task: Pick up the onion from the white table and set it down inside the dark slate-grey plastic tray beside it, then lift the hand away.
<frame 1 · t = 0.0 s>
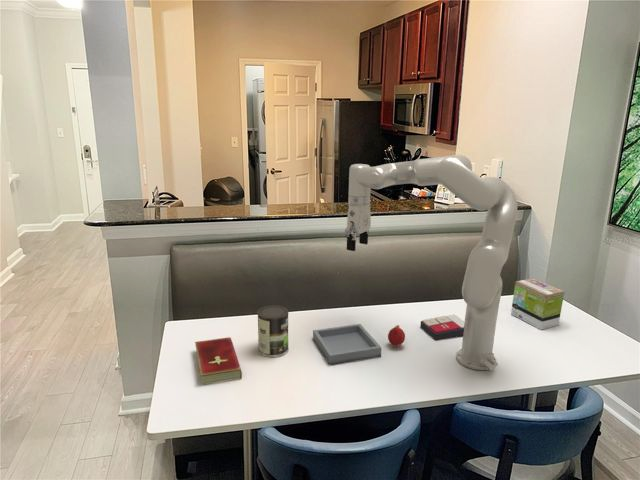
hand: (357, 247, 167), 31 cm above the table, tool pointing down, fingers open, 9 cm apart
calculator: (445, 332, 173), on the table
hardcover book: (217, 366, 149), on the table
tea box: (533, 320, 183), on the table
onion: (395, 346, 161), on the table
coffee can: (273, 350, 158), on the table
tray: (345, 347, 160), on the table
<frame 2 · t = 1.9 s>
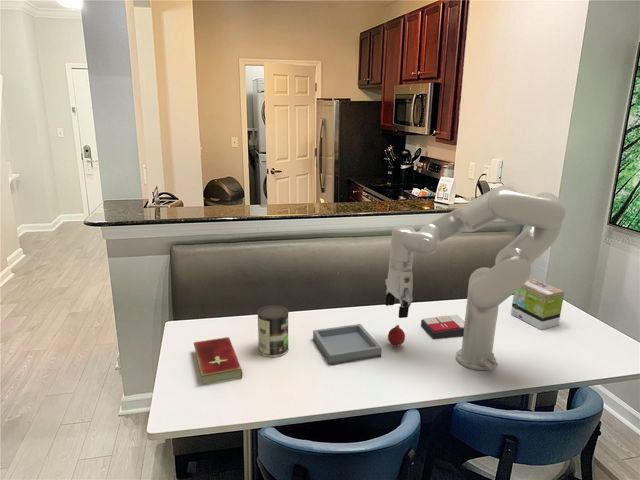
hand: (396, 311, 158), 13 cm above the table, tool pointing down, fingers open, 9 cm apart
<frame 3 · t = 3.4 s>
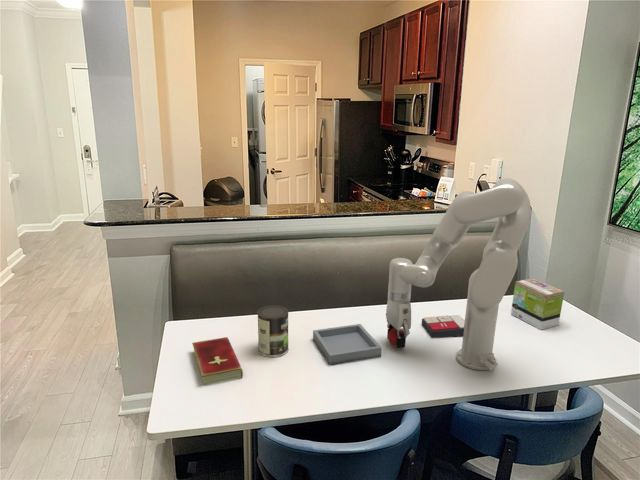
hand: (395, 342, 161), 1 cm above the table, tool pointing down, fingers closed on onion, 5 cm apart
onion: (395, 346, 161), on the table, touching gripper
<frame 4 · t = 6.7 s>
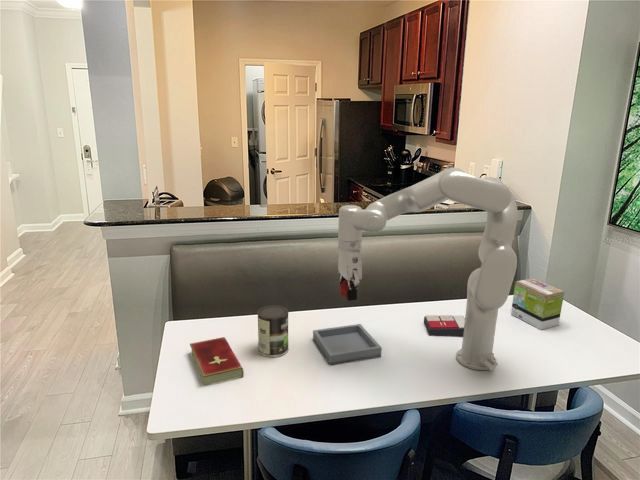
hand: (348, 295, 154), 19 cm above the table, tool pointing down, fingers closed on onion, 5 cm apart
onion: (347, 300, 155), point 18 cm above the table, touching gripper
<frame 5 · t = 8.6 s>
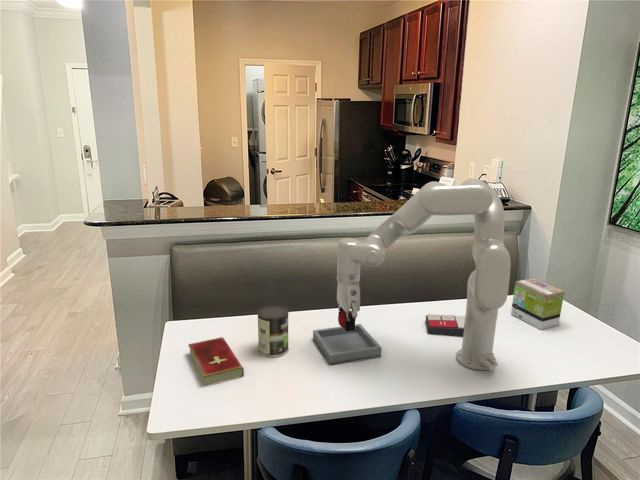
hand: (346, 325, 157), 8 cm above the table, tool pointing down, fingers closed on onion, 5 cm apart
onion: (346, 329, 158), point 7 cm above the table, touching gripper
when the fingers open (4 cm above the table, at t = 10.0 s): onion drops 1 cm, resting on tray.
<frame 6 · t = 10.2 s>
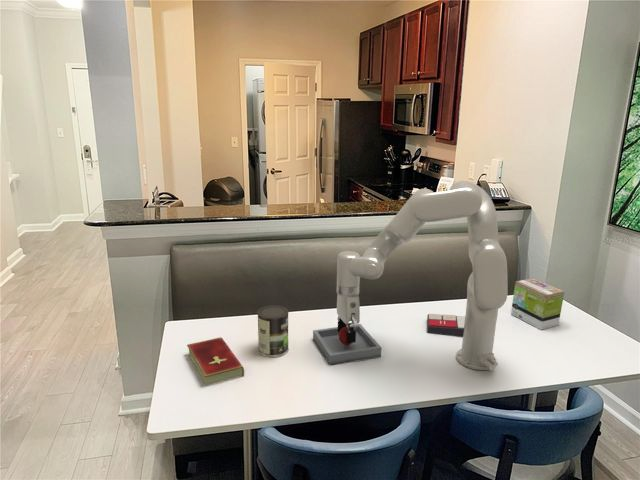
hand: (346, 336, 159), 4 cm above the table, tool pointing down, fingers open, 7 cm apart
onion: (346, 345, 159), point 1 cm above the table, touching tray
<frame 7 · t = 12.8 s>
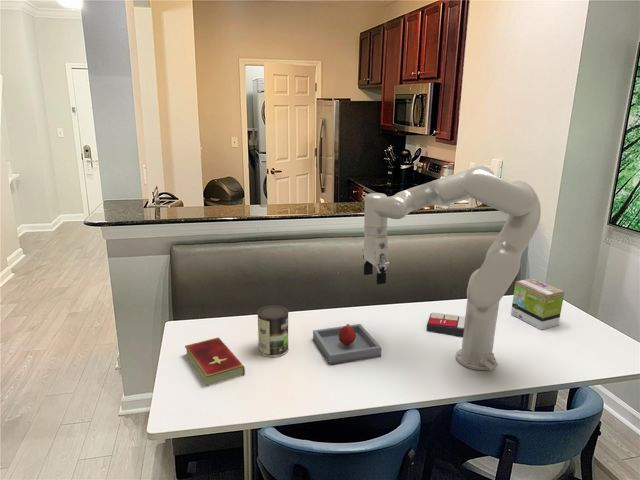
hand: (374, 279, 159), 23 cm above the table, tool pointing down, fingers open, 9 cm apart
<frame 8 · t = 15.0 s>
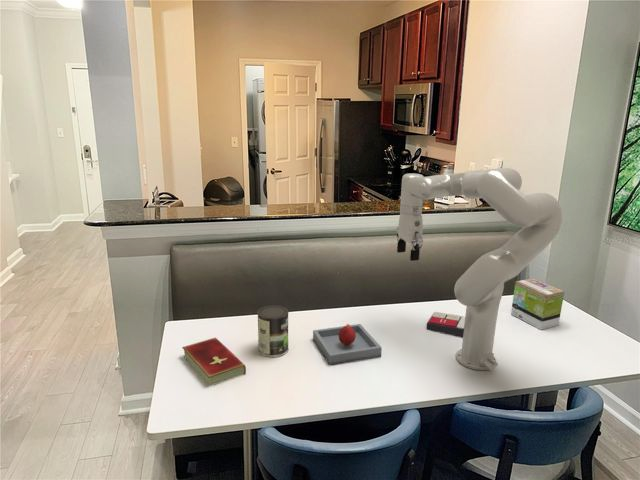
hand: (407, 256, 167), 28 cm above the table, tool pointing down, fingers open, 9 cm apart
at the end: onion inside the target area on the tray (0.3 cm from its centre), point 0.8 cm above the tray's base; the gripper is holding nothing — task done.
